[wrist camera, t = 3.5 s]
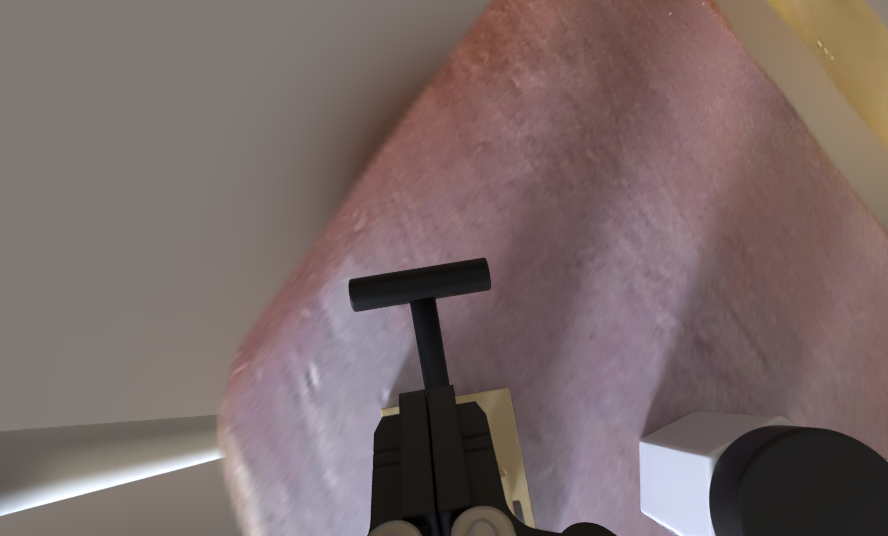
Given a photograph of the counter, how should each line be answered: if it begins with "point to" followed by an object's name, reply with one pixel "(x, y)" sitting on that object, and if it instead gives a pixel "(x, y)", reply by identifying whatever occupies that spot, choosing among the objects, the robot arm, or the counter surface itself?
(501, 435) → the bracket
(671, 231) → the counter surface
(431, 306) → the lever
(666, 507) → the jar
